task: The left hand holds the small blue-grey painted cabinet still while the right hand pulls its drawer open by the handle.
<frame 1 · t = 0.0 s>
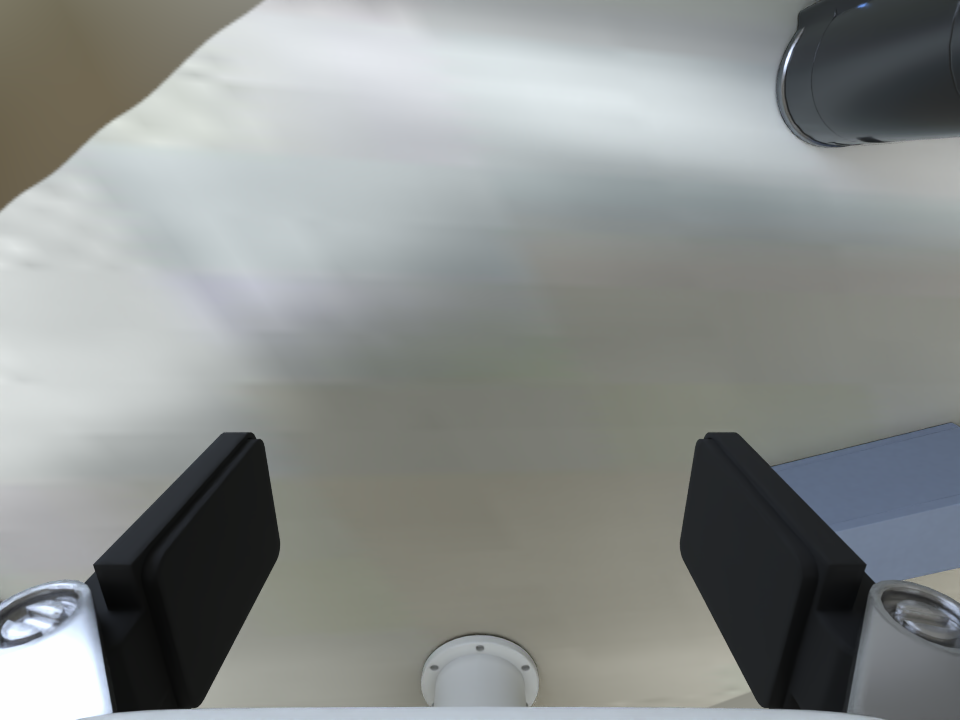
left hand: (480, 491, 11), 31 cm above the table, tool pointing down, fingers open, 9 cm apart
cabinet: (839, 478, 47), on the table
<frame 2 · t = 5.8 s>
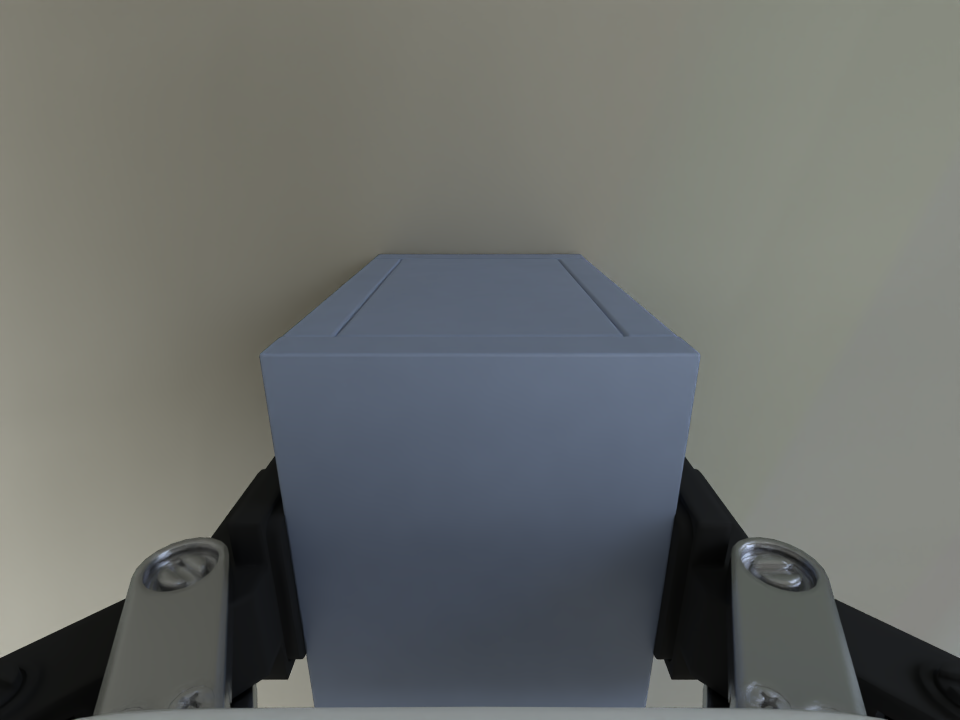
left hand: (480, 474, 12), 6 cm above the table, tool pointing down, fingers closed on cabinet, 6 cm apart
cabinet: (479, 521, 19), on the table, touching left hand
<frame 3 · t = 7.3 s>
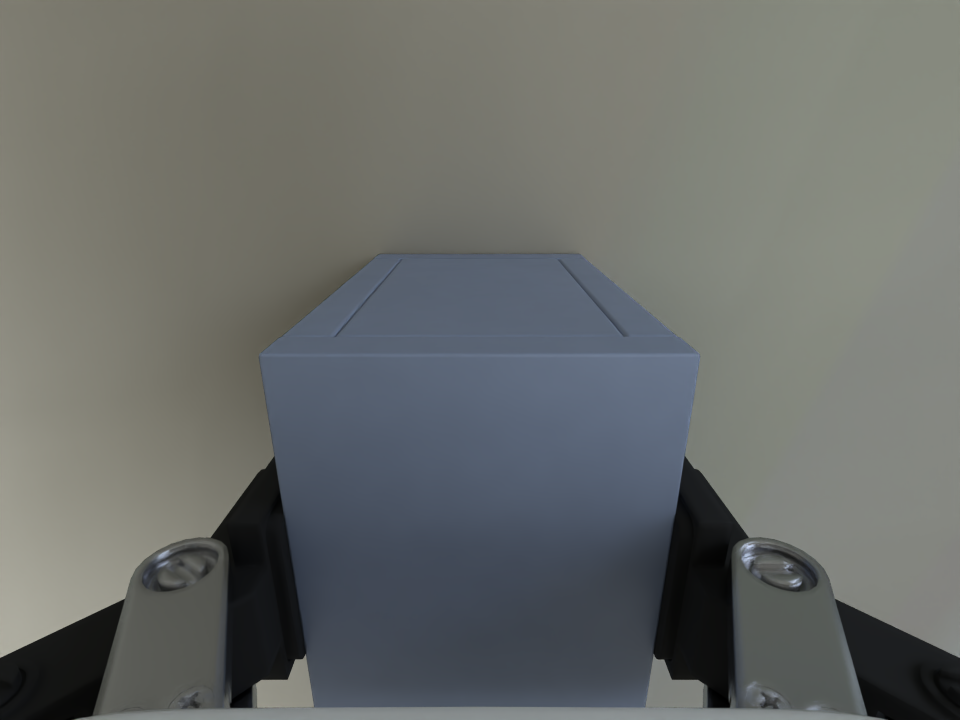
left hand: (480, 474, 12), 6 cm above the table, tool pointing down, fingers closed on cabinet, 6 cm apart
cabinet: (479, 521, 19), on the table, touching left hand
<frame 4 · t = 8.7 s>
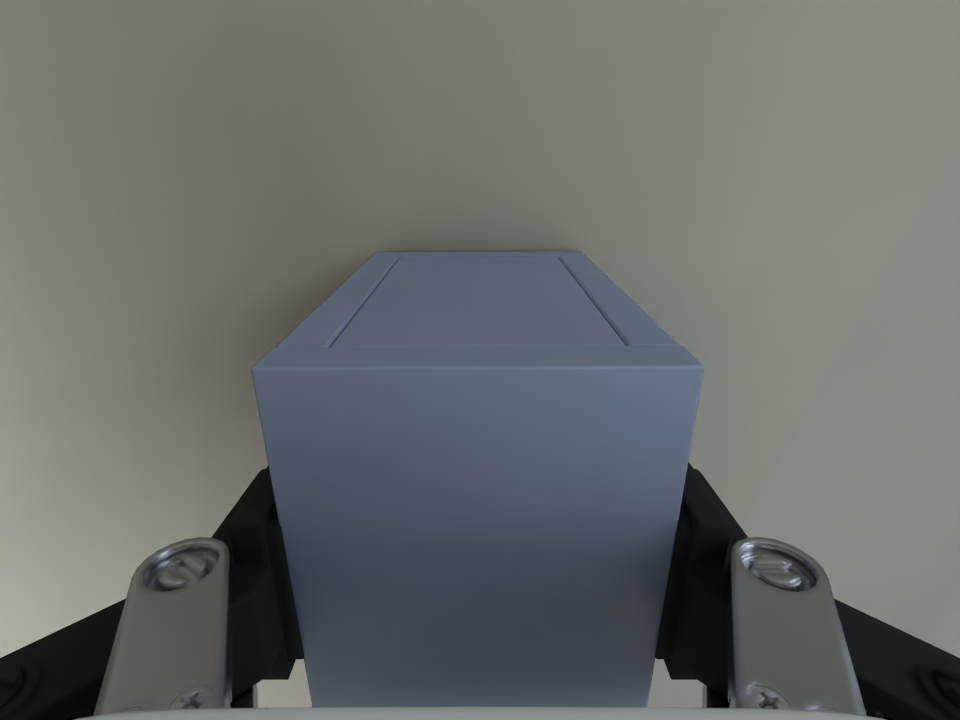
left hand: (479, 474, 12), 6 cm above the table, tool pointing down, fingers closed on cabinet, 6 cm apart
cabinet: (479, 518, 19), on the table, touching left hand
when the left hand's fingers open (6 cm above the table, at t = 10.4 s): cabinet stays where it is, on the table.
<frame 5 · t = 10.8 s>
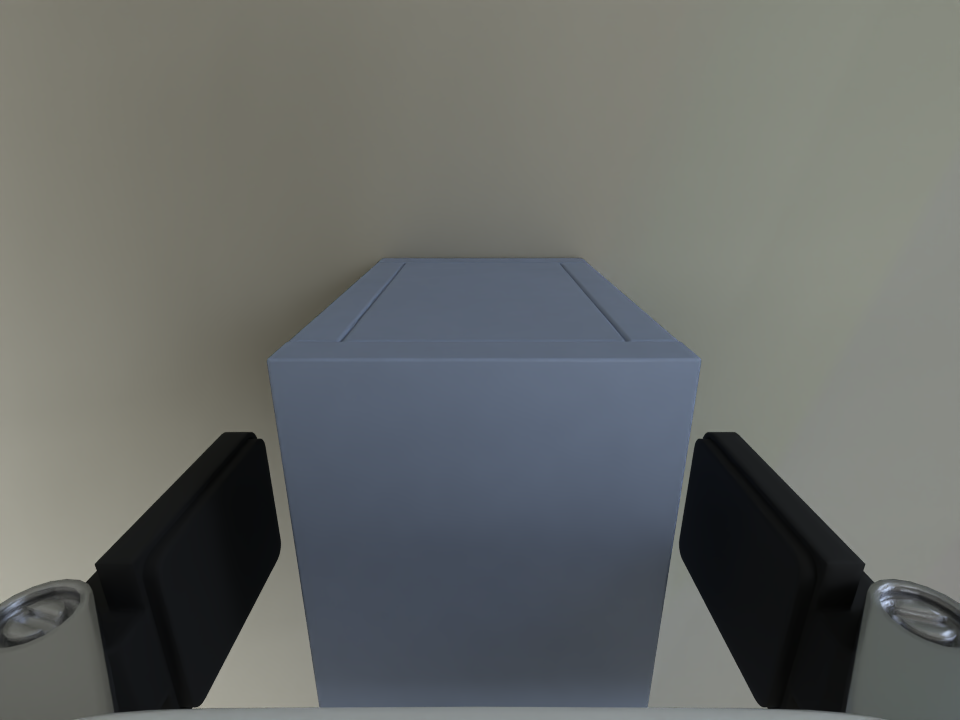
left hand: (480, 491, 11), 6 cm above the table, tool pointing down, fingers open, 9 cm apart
cabinet: (482, 523, 19), on the table
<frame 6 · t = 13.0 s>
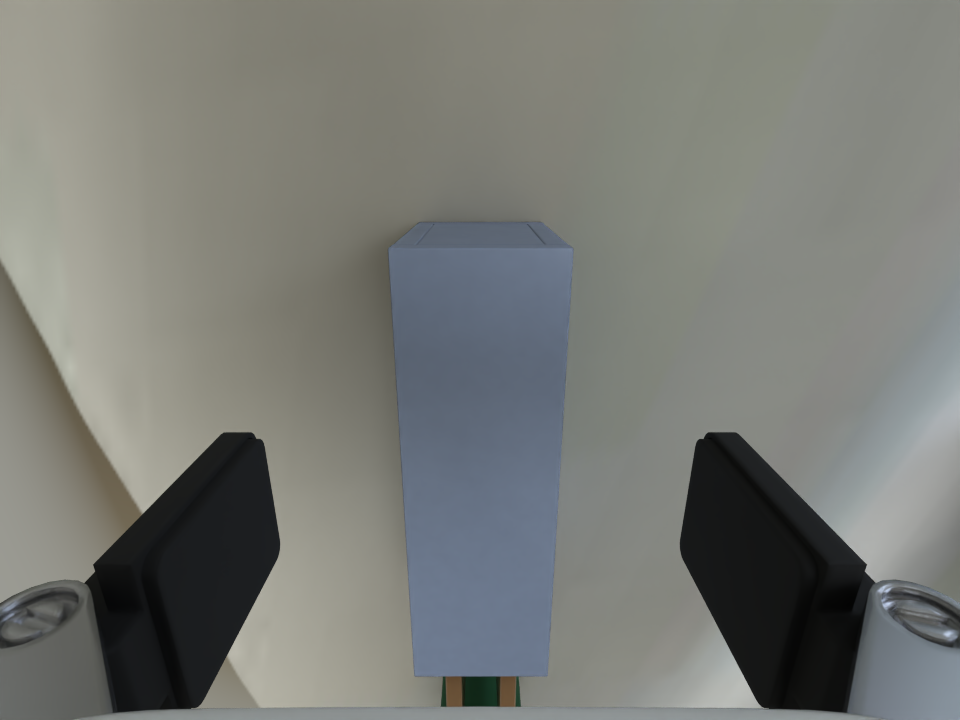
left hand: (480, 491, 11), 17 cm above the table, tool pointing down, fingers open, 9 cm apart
drawer: (480, 653, 29), point 5 cm above the table, slide at 9.2 cm
cabinet: (480, 401, 29), on the table
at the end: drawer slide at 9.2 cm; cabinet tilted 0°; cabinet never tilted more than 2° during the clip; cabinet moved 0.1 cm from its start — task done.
